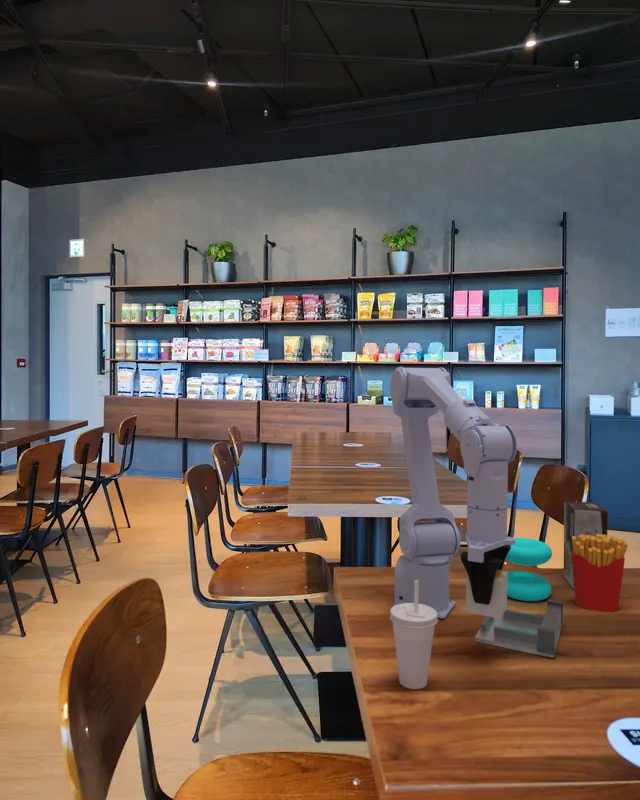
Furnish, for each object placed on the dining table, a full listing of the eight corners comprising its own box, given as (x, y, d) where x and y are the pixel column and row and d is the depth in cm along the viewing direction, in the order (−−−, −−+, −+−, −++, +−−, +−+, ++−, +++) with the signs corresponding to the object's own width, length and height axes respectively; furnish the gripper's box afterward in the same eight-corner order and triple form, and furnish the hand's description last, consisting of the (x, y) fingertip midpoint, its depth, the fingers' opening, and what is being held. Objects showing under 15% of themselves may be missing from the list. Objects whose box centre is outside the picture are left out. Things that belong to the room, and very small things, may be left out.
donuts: (560, 550, 104) (505, 549, 105) (559, 604, 105) (504, 603, 105) (541, 536, 114) (491, 535, 115) (540, 585, 115) (490, 584, 115)
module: (465, 611, 83) (466, 573, 83) (473, 601, 87) (473, 564, 87) (500, 618, 81) (501, 579, 81) (506, 608, 85) (507, 570, 84)
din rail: (474, 641, 89) (474, 616, 89) (492, 611, 101) (492, 589, 101) (554, 659, 83) (554, 632, 83) (563, 625, 95) (563, 601, 95)
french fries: (572, 607, 103) (573, 536, 103) (569, 599, 107) (570, 531, 107) (628, 613, 100) (629, 541, 100) (623, 604, 104) (624, 535, 104)
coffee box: (607, 592, 111) (609, 510, 110) (572, 590, 112) (573, 509, 111) (594, 577, 119) (596, 501, 119) (562, 575, 121) (563, 500, 120)
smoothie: (407, 699, 72) (408, 591, 72) (380, 676, 78) (381, 576, 78) (447, 687, 75) (448, 583, 75) (417, 666, 81) (418, 569, 81)
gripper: (505, 519, 75) (504, 620, 76) (523, 500, 88) (521, 586, 88) (453, 513, 79) (452, 610, 79) (477, 496, 91) (476, 579, 92)
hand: (485, 597), depth 84 cm, fingers closed on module, 4 cm apart
